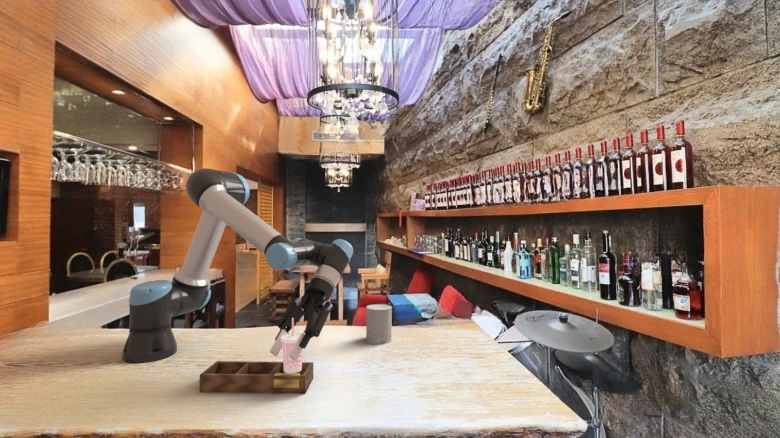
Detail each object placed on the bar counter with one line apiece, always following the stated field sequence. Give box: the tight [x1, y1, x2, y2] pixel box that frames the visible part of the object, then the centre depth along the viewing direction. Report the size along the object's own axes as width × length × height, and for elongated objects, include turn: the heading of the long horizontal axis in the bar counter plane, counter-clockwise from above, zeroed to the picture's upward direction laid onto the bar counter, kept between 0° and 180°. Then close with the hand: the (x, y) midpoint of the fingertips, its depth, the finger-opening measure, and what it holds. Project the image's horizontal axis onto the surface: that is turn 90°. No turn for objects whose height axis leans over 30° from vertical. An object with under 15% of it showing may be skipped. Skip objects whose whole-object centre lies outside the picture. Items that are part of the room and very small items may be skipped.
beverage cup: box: [281, 318, 304, 373], centre depth 103 cm, size 6×6×14 cm
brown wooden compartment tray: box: [199, 360, 314, 395], centre depth 103 cm, size 27×10×5 cm, turn 89°
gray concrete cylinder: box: [365, 303, 393, 345], centre depth 143 cm, size 10×10×12 cm
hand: (282, 356), depth 100 cm, fingers closed on beverage cup, 6 cm apart
